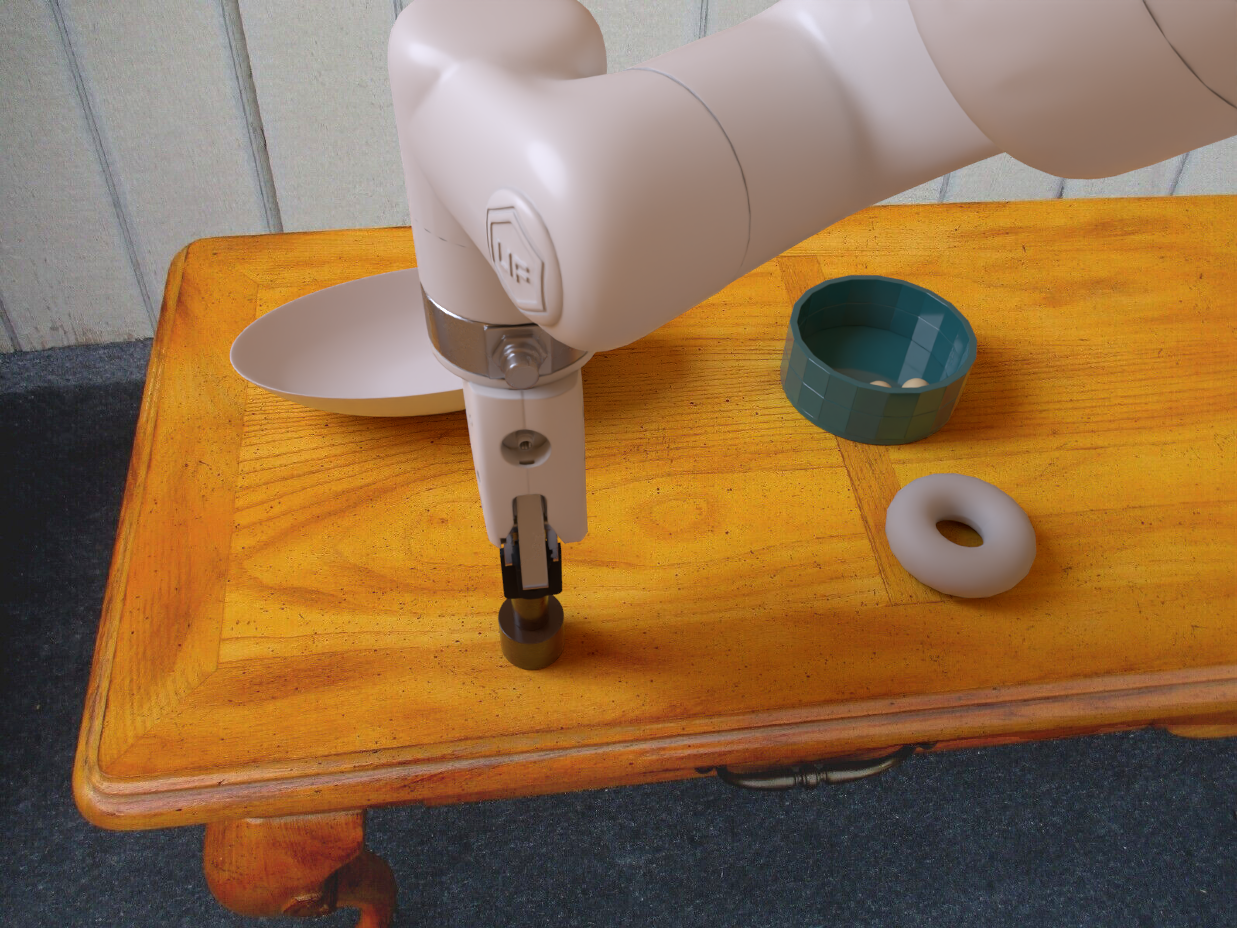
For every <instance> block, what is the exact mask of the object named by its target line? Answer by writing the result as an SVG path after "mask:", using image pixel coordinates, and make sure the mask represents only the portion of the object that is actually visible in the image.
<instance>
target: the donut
mask: <svg viewBox="0 0 1237 928" xmlns="http://www.w3.org/2000/svg"><path fill="white" fill-rule="evenodd" d="M942 521H954V522H959V523H962V524H964V525H966V526H969V527H970V528H972V530H974V531H976V533H977V534H978V535H979V536H980V538H981V539H982V544H981V545H979V546H964V545H959V544H956V543H955V542H953V541H950V540H949V539H948V538H946V537H945V536H943V535H942V533H941V532H940V531H939V529H938V528H937V526H936V525H937V524H938V523H939V522H942ZM884 532H885V535H886V538H887V542H888V545H889V548H890V551H891V553H892V555H893V556H894V557H895V558H896V560H897V561H898V562H899V564H900V565H901V567H902V568H903V569H904V570H905V571H906V572H907V573H908V574H910V576H912V577H913V578H915V579H916V580H917V581H919V582H920V583H921V584H923V585H925V586H926V587H929V588H931V589H933V590H935V591H937V592H940V593H942V594H944V595H945V594H946V595H951V596H955V597H959V598H963V599H977V598H978V599H979V598H982V599H983V598H989V597H994V596H996V595H998V594H1002V593H1005V592H1008V591H1010V590H1012V589H1013V588H1014V587H1015V586H1016V585H1018V584H1019V583H1020V582H1021V581H1023V579H1025V578H1026V577H1027V576H1028V575H1029V573H1030V570H1031V567H1032V566H1033V564H1034V561H1035V559H1036V555H1037V536H1036V532H1035V529H1034V527H1033V524H1032V522H1031V520H1030V518H1029V516H1028V513H1027V512H1026V511H1025V510H1024V509H1023V508H1022V507H1021V505H1019V503H1018V502H1017V501H1016V500H1015V499H1014V497H1012V496H1010V495H1009V494H1008V493H1007V492H1005V491H1004V490H1002V489H1000V488H999V487H998V486H997V485H994V484H992V483H990V482H988V481H985V480H983V479H981V478H979V477H976V476H971V475H964V474H961V473H955V472H947V473H932V474H928V475H924V476H921V477H918V478H915V479H913V480H912V481H910V482H909V483H907V484H906V485H904V486H903V487H902V488H901V489H899V490H898V491H896V494H895V495H894V497H893V499H892V500H891V502H890V504H889V506H888V507H887V509H886V517H885V528H884Z"/></svg>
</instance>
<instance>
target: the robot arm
mask: <svg viewBox="0 0 1237 928" xmlns="http://www.w3.org/2000/svg"><path fill="white" fill-rule="evenodd" d="M605 45H606V44H605V40H604V36H603V33H602V29H601V27H600V24H599V23H598V21H596V19H595V17H594V16H593V14H592V12H591V11H590V10H589V9H588V8H587V7H586V6H585V5H584V4H583V3H582V2H580V1H578V0H412V1H411V2H410V3H409V4H408V5H407V6H405V8H403V9H402V10H401V11H400V12H399V14H398V16H397V18H396V19H395V21H394V23H393V25H392V27H391V29H390V32H389V37H388V43H387V52H386V53H387V54H386V61H387V70H388V72H387V73H388V79H389V86H390V92H391V97H392V98H391V99H392V105H393V111H394V112H393V113H394V118H395V126H396V132H397V138H398V146H399V152H400V158H401V159H400V160H401V164H402V171H403V178H404V179H403V180H404V185H405V191H406V197H407V206H408V212H409V219H410V224H411V232H412V238H413V245H414V252H415V258H416V259H415V260H416V265H417V267H418V272H419V280H420V286H421V293H422V299H423V306H424V313H425V319H426V326H427V331H428V339H429V344H430V347H431V350H432V353H433V354H434V356H435V357H436V359H437V360H438V361H439V362H440V363H441V364H442V365H443V366H444V367H445V368H446V369H447V370H449V371H450V372H451V373H453V374H454V375H456V376H458V377H460V378H462V385H463V393H464V400H465V407H466V409H465V414H466V421H467V429H468V434H469V441H470V447H471V453H472V460H473V465H474V472H475V477H476V483H477V488H478V494H479V499H480V504H481V509H482V514H483V518H484V524H485V529H486V534H487V538H488V541H489V542H490V543H491V544H492V545H493V546H495V547H496V548H498V550H499V561H500V569H501V579H502V581H501V582H502V589H503V597H504V598H505V599H518V598H523V599H527V600H531V599H539V598H543V597H545V596H548V595H553V596H556V595H557V596H558V595H559V594H561V593H562V592H563V559H562V557H563V555H562V551H563V550H562V543H561V542H563V543H564V544H572V543H581V542H582V541H583V540H584V539H585V537H586V536H587V534H588V532H589V526H588V525H589V524H588V505H587V503H588V502H587V471H586V470H587V469H586V467H587V466H586V465H587V464H586V431H585V430H586V429H585V428H586V427H585V405H584V390H583V376H582V367H584V366H585V365H586V364H587V363H588V362H589V361H590V360H591V359H592V357H593V356H594V354H596V353H601V352H609V351H612V350H616V349H619V348H622V347H626V346H628V345H630V344H633V343H635V342H637V341H640V340H641V339H643V338H645V337H646V336H648V335H650V334H651V333H653V332H655V331H657V330H658V329H660V328H662V327H663V326H664V325H667V323H670V322H671V321H674V320H675V319H676V318H678V317H680V316H682V315H683V314H685V313H687V312H688V311H690V310H692V309H693V308H695V307H697V306H699V305H700V304H702V303H703V302H705V301H707V300H709V299H710V298H712V297H713V296H715V295H717V294H718V293H720V292H721V291H723V290H724V289H725V288H726V287H727V286H729V285H730V284H732V283H734V282H735V281H737V280H739V279H740V278H742V277H744V276H745V275H747V274H749V273H751V272H752V271H755V270H756V269H758V268H759V267H761V266H763V265H764V264H766V263H768V262H770V261H772V260H773V259H775V258H776V257H778V256H780V255H782V254H784V253H785V252H787V251H788V250H790V249H792V248H794V247H796V246H797V245H799V244H800V243H802V242H804V241H806V240H808V239H810V238H811V237H813V236H815V235H817V234H819V233H820V232H822V231H824V230H825V229H827V228H829V227H831V226H833V225H834V224H837V223H838V222H841V221H842V220H844V219H846V218H848V217H850V216H852V215H854V214H857V213H858V212H861V211H863V210H866V209H867V208H870V207H871V206H875V205H876V204H877V203H881V202H883V201H886V200H887V199H890V198H892V197H894V196H897V195H900V194H902V193H904V192H907V191H909V190H912V189H914V188H917V187H918V186H921V185H924V184H927V183H929V182H931V181H934V180H935V179H938V178H941V177H943V176H945V175H948V174H951V173H953V172H956V171H958V170H961V169H963V168H965V167H968V166H972V165H973V164H976V163H979V162H982V161H984V160H987V159H990V158H992V157H995V156H998V155H1002V154H1004V153H1006V154H1007V155H1008V156H1010V157H1011V158H1013V159H1014V160H1016V161H1018V162H1020V163H1022V164H1024V165H1026V166H1028V167H1030V168H1032V169H1035V170H1037V171H1039V172H1043V173H1045V174H1048V175H1051V176H1054V177H1056V178H1063V179H1066V180H1067V179H1068V180H1087V181H1088V180H1101V179H1107V178H1113V177H1117V176H1121V175H1125V174H1128V173H1130V172H1134V171H1137V170H1141V169H1143V168H1147V167H1150V166H1154V165H1156V164H1159V163H1162V162H1165V161H1167V160H1170V159H1173V158H1175V157H1179V156H1182V155H1184V154H1186V153H1190V152H1191V151H1194V150H1198V149H1200V148H1203V147H1206V146H1209V145H1212V144H1216V143H1218V142H1220V141H1223V140H1227V139H1230V138H1232V137H1235V136H1237V0H778V1H777V2H775V3H773V4H772V5H771V6H769V7H767V8H766V9H764V10H762V11H761V12H758V13H757V14H755V15H753V16H751V17H750V18H747V19H746V20H744V21H741V22H740V23H738V24H736V25H733V26H730V27H728V28H725V29H722V30H720V31H717V32H714V33H711V34H709V35H705V36H703V37H701V38H698V39H695V40H693V41H690V42H688V43H686V44H684V45H680V46H678V47H676V48H674V49H671V50H669V51H666V52H663V53H660V54H658V55H656V56H653V57H651V58H648V59H646V60H644V61H641V62H638V63H637V64H634V65H631V66H628V67H627V68H624V69H623V70H620V71H616V72H610V73H608V59H607V57H608V56H607V49H606V46H605ZM595 352H596V353H595ZM544 530H545V531H544ZM516 532H518V535H519V540H514V543H513V533H516ZM545 532H546V539H545ZM558 539H560V540H561V542H559V540H558ZM514 544H515V545H514ZM502 545H503V547H502Z"/></svg>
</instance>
